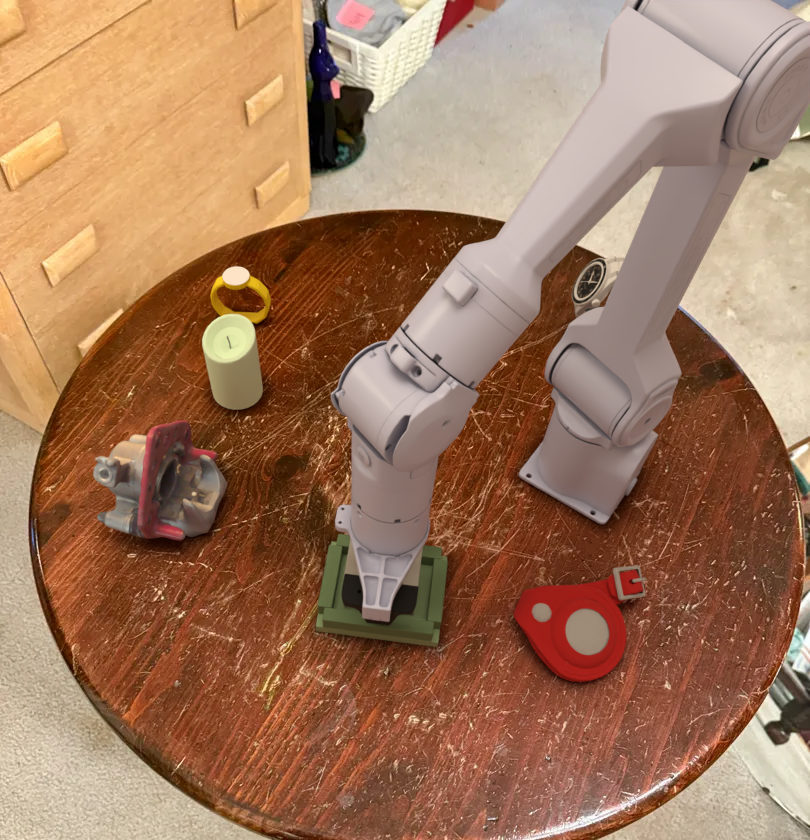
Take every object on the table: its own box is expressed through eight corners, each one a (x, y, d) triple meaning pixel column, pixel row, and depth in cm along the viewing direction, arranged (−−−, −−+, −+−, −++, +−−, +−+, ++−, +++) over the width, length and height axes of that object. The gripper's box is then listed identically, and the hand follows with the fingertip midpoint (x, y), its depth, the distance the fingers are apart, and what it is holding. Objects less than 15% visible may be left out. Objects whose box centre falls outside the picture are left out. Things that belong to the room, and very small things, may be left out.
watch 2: (274, 312, 88) (269, 268, 83) (270, 331, 86) (265, 287, 81) (218, 307, 88) (210, 262, 82) (213, 325, 86) (205, 282, 81)
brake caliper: (224, 560, 69) (114, 479, 61) (142, 576, 75) (33, 504, 68) (263, 456, 75) (167, 369, 67) (184, 478, 81) (88, 401, 73)
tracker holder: (616, 700, 66) (509, 646, 66) (594, 701, 71) (492, 650, 70) (665, 569, 70) (563, 516, 69) (641, 578, 74) (545, 528, 73)
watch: (556, 324, 89) (580, 242, 80) (628, 330, 90) (661, 249, 80) (558, 363, 87) (584, 282, 77) (633, 369, 87) (668, 289, 77)
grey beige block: (418, 574, 71) (422, 546, 67) (413, 615, 69) (417, 589, 65) (350, 565, 71) (350, 536, 67) (343, 606, 69) (343, 579, 65)
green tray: (446, 561, 73) (449, 547, 71) (437, 647, 69) (440, 635, 67) (331, 546, 73) (331, 532, 71) (315, 631, 69) (314, 618, 67)
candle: (242, 418, 80) (232, 360, 73) (202, 396, 81) (188, 336, 74) (273, 386, 82) (266, 327, 75) (233, 365, 84) (222, 304, 77)
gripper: (350, 401, 61) (350, 501, 72) (317, 571, 53) (323, 652, 65) (444, 414, 61) (429, 512, 72) (424, 585, 53) (410, 663, 65)
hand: (384, 579), depth 69 cm, fingers open, 7 cm apart
